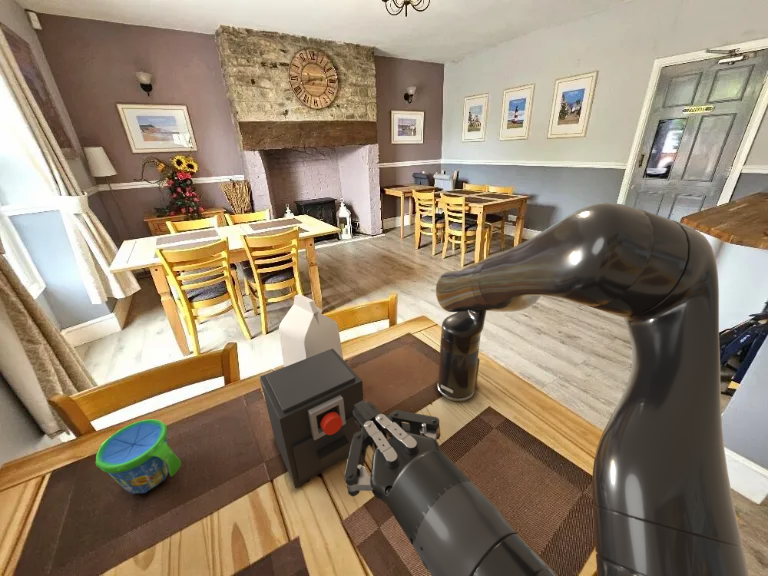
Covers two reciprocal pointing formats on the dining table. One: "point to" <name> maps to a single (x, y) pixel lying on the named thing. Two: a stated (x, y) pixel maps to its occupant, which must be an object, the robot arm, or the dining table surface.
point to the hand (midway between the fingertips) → (359, 407)
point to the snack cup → (138, 456)
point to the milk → (307, 332)
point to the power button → (331, 423)
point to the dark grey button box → (312, 412)
